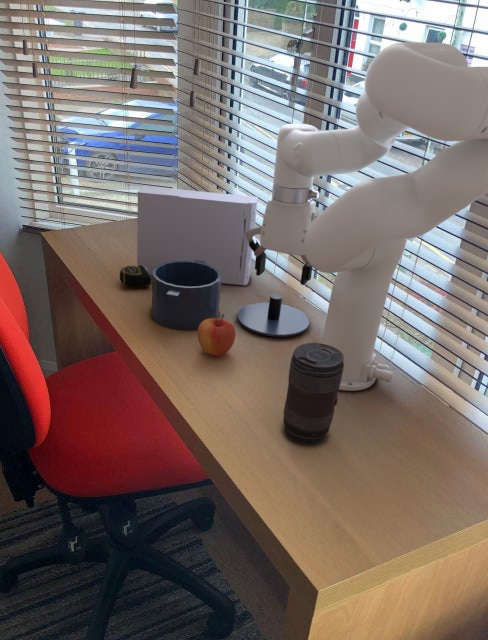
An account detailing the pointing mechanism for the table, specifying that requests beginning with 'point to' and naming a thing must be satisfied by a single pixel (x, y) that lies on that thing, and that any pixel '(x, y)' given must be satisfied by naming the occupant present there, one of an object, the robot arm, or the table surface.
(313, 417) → the camera lens
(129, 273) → the tape measure
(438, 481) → the table surface
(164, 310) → the pot
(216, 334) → the apple
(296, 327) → the lid
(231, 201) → the game console
